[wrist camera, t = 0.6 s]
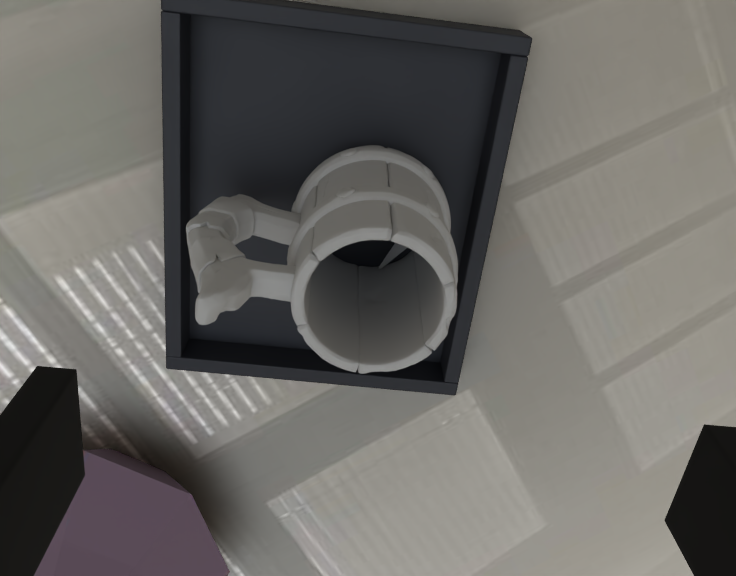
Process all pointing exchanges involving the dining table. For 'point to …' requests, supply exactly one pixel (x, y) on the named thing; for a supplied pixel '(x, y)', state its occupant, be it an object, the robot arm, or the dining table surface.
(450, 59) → the tray
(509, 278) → the dining table surface
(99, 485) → the flask
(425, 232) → the mug
